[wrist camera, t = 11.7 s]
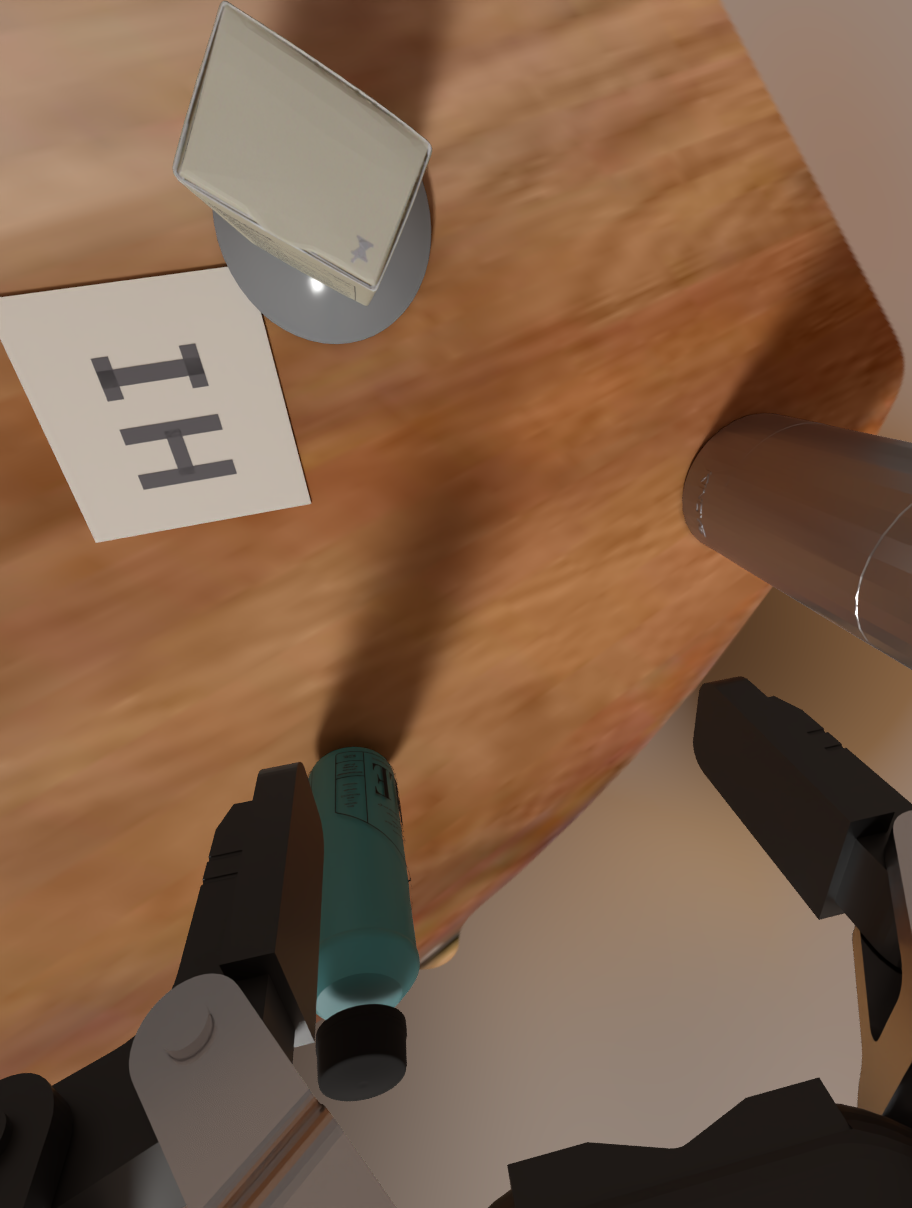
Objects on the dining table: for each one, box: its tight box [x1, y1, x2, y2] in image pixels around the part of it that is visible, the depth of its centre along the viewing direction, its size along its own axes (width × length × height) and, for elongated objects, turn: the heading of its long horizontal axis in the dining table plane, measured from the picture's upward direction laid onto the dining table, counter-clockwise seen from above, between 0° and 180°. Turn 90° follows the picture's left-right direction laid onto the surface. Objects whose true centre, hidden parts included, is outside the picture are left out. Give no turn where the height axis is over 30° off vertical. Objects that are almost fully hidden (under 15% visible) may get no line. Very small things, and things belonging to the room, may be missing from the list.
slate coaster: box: [213, 181, 431, 344], centre depth 26 cm, size 10×10×1 cm
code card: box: [0, 267, 311, 543], centre depth 29 cm, size 12×12×1 cm
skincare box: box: [173, 1, 432, 306], centre depth 21 cm, size 6×4×12 cm
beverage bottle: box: [308, 747, 420, 1101], centre depth 33 cm, size 6×7×20 cm
